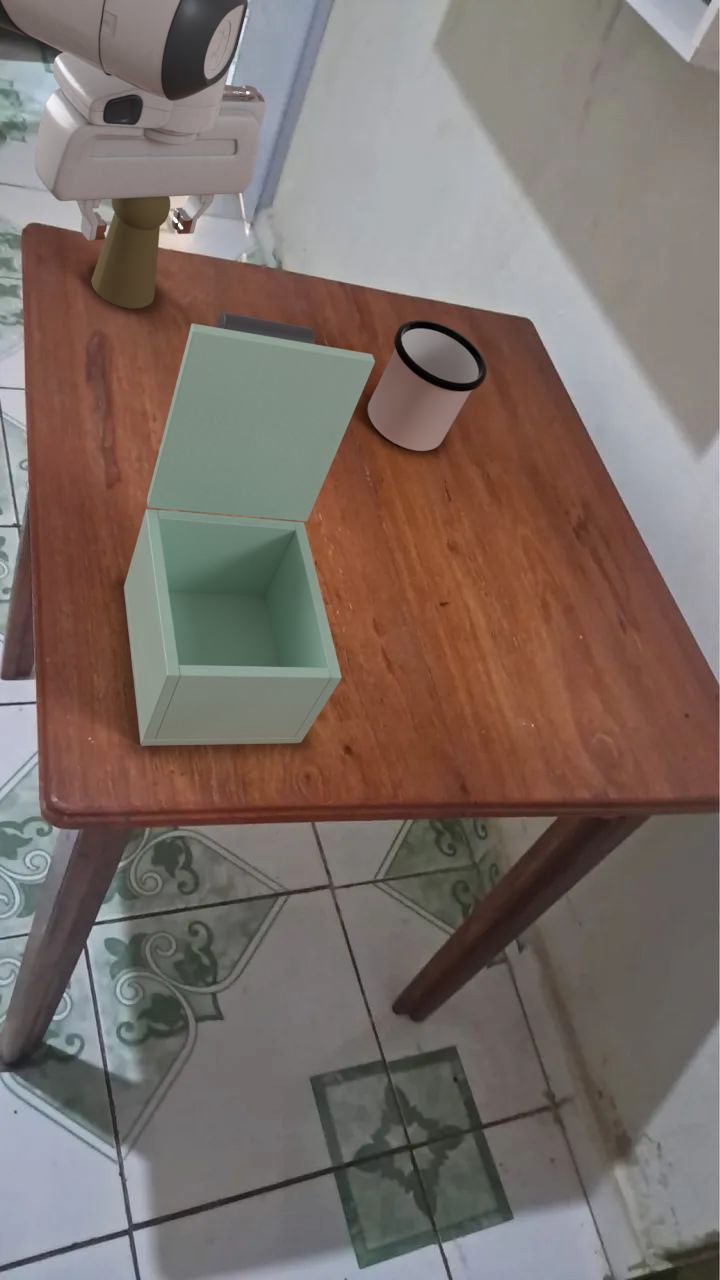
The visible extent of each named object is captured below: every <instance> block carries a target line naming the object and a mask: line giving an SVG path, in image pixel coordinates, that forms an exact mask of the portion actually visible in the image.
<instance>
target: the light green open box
mask: <svg viewBox="0 0 720 1280" xmlns="http://www.w3.org/2000/svg"><path fill="white" fill-rule="evenodd" d="M308 537H309V536H308V533H307V529H306V524H305V522H304V521H294V520H282V519H271V518H259V517H248V516H236V515H225V514H213V513H202V512H190V511H179V510H167V509H154V508H146V509H145V511H144V514H143V519H142V522H141V526H140V528H139V532H138V536H137V539H136V543H135V548H134V549H133V553H132V557H131V561H130V564H129V567H128V571H127V575H126V578H125V582H124V585H123V592H124V601H125V611H126V620H127V621H126V622H127V629H128V640H129V650H130V656H131V657H130V658H131V667H132V677H133V685H134V686H133V687H134V695H135V707H136V715H137V724H138V725H137V726H138V733H139V734H138V735H139V742H140V746H141V747H142V746H143V747H146V746H148V747H149V746H202V745H203V746H209V745H260V744H261V745H265V744H269V745H271V744H272V745H273V744H301V743H302V742H303V740H304V738H305V737H306V735H307V734H308V733H309V731H310V729H311V727H312V726H313V724H314V723H315V721H316V720H317V718H318V717H319V715H320V713H321V711H322V710H323V708H324V707H325V705H326V703H327V702H328V701H329V699H330V697H331V696H332V694H333V693H334V691H335V690H336V688H337V686H338V685H339V683H340V682H341V679H342V678H343V677H342V672H341V668H340V664H339V660H338V657H337V652H336V648H335V643H334V640H333V635H332V631H331V628H330V623H329V620H328V615H327V611H326V607H325V602H324V599H323V594H322V591H321V587H320V586H321V585H320V583H319V578H318V574H317V570H316V566H315V563H314V562H315V561H314V558H313V554H312V550H311V546H310V542H309V538H308Z"/></svg>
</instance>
